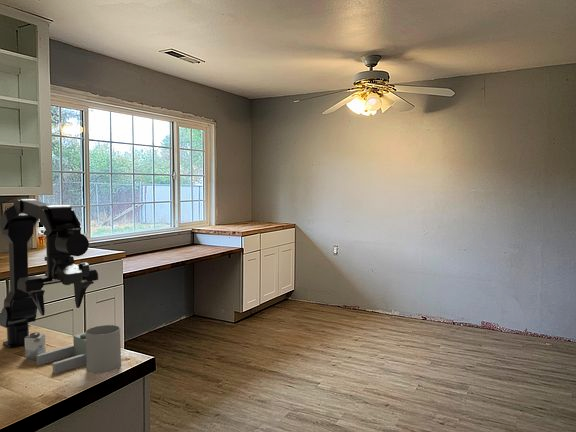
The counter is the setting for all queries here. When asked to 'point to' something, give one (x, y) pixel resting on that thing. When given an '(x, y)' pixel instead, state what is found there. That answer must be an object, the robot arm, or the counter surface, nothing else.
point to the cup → (103, 349)
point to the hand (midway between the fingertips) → (60, 311)
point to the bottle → (34, 346)
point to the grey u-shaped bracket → (66, 355)
